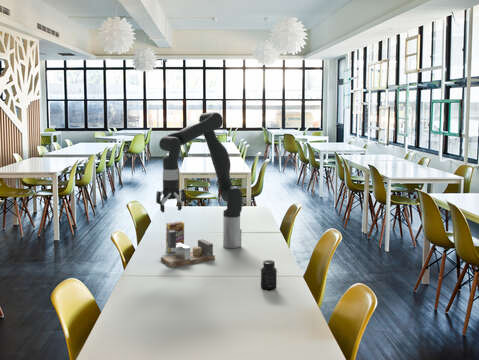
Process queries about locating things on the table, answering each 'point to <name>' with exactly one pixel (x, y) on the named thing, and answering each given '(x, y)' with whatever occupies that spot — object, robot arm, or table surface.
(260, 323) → the table surface
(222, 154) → the robot arm
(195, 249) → the walnut
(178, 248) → the jaw
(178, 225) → the candy box
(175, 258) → the board
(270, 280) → the supplement bottle
